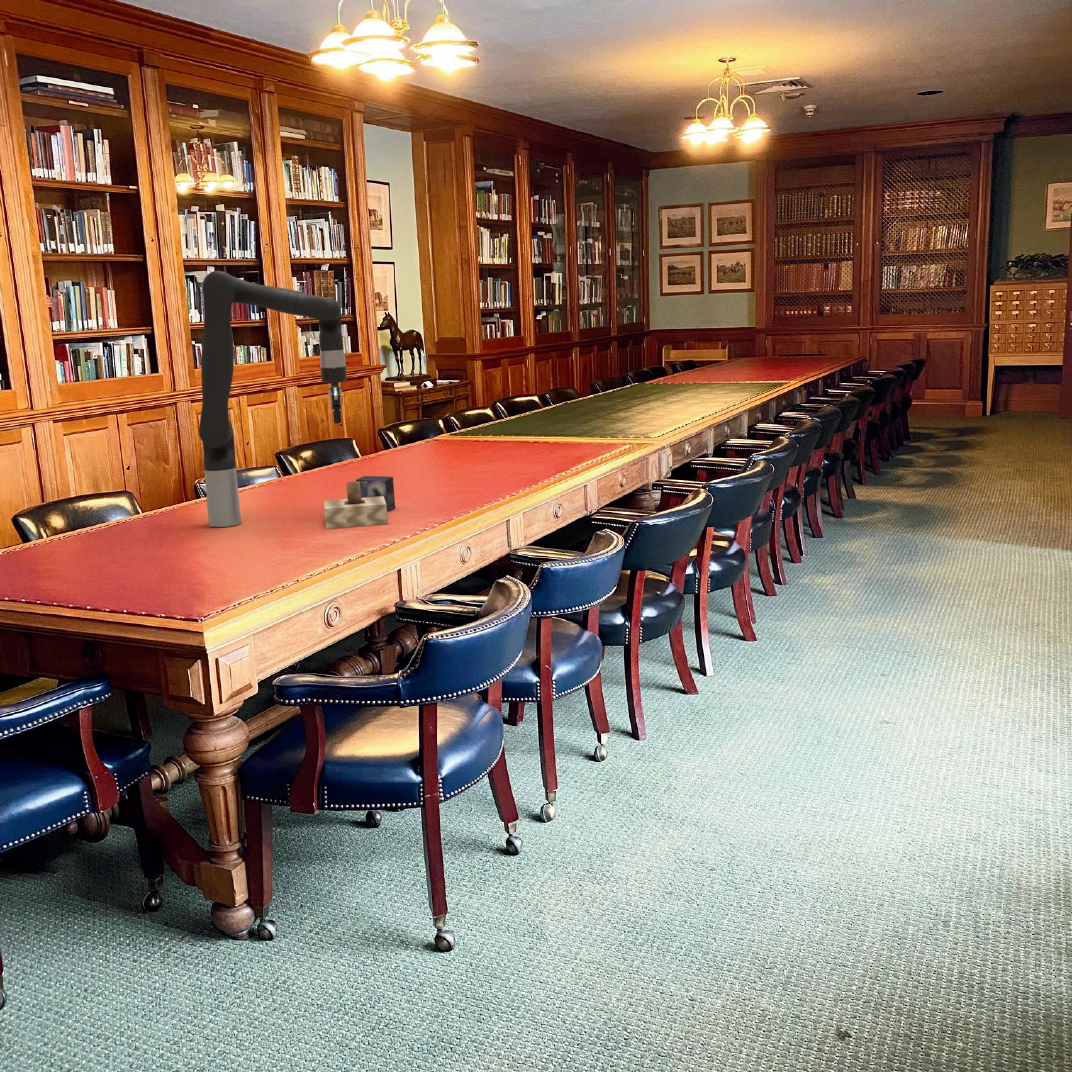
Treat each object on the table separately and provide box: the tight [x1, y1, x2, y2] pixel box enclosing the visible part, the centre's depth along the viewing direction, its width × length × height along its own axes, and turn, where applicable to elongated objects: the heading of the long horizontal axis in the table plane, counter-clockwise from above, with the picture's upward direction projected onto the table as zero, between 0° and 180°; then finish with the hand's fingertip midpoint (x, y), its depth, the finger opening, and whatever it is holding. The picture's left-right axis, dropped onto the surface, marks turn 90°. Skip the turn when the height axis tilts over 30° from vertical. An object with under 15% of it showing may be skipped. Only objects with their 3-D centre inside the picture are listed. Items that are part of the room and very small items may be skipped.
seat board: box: [323, 496, 389, 530], centre depth 319 cm, size 18×14×6 cm
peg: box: [346, 481, 362, 505], centre depth 318 cm, size 4×4×12 cm
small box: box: [355, 475, 396, 513], centre depth 336 cm, size 11×6×10 cm, turn 73°
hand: (337, 423), depth 322 cm, fingers closed
